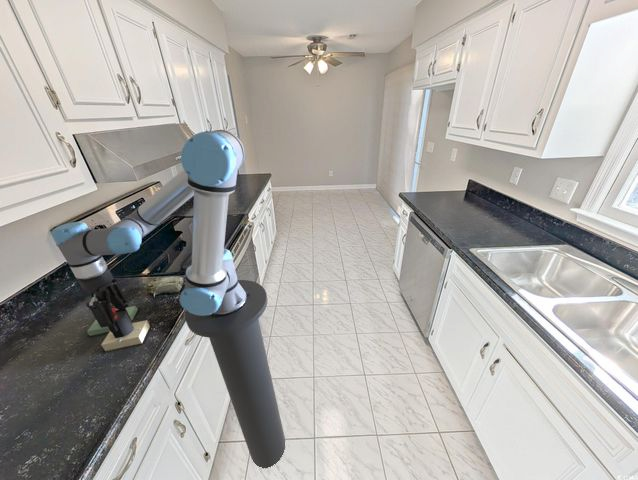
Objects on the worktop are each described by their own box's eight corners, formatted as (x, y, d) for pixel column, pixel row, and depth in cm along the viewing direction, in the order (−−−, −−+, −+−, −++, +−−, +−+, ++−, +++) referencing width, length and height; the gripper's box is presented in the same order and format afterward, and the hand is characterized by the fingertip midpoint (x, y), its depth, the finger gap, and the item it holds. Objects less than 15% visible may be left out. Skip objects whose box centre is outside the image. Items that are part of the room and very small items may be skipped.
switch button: (119, 310, 96) (117, 306, 95) (114, 317, 92) (112, 313, 91) (107, 312, 95) (105, 309, 94) (102, 320, 91) (100, 316, 91)
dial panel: (150, 325, 93) (147, 318, 91) (141, 344, 85) (137, 337, 83) (117, 332, 91) (113, 325, 89) (104, 352, 82) (99, 345, 81)
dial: (120, 328, 88) (111, 311, 85) (136, 324, 89) (128, 308, 86) (113, 338, 84) (103, 322, 80) (130, 335, 84) (121, 319, 81)
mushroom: (146, 298, 107) (141, 288, 105) (156, 285, 116) (151, 275, 113) (181, 294, 108) (177, 283, 106) (188, 281, 117) (185, 271, 115)
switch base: (138, 310, 101) (134, 302, 99) (127, 328, 92) (123, 320, 90) (103, 316, 98) (99, 308, 97) (89, 336, 90) (84, 327, 88)
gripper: (90, 288, 68) (124, 348, 79) (120, 256, 84) (146, 310, 95) (58, 293, 67) (97, 354, 77) (95, 260, 83) (124, 314, 93)
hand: (124, 330), depth 86 cm, fingers closed on dial, 5 cm apart
